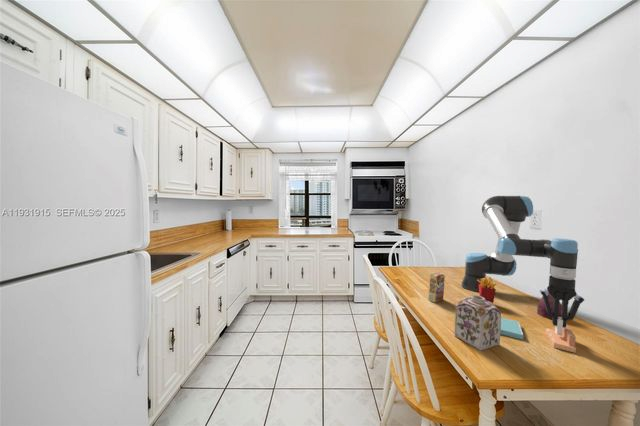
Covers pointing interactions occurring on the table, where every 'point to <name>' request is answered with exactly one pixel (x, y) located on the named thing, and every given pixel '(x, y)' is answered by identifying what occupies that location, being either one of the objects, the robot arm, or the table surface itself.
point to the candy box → (436, 287)
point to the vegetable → (542, 309)
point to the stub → (562, 339)
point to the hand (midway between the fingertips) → (558, 333)
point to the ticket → (511, 328)
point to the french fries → (487, 289)
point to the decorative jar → (478, 322)
